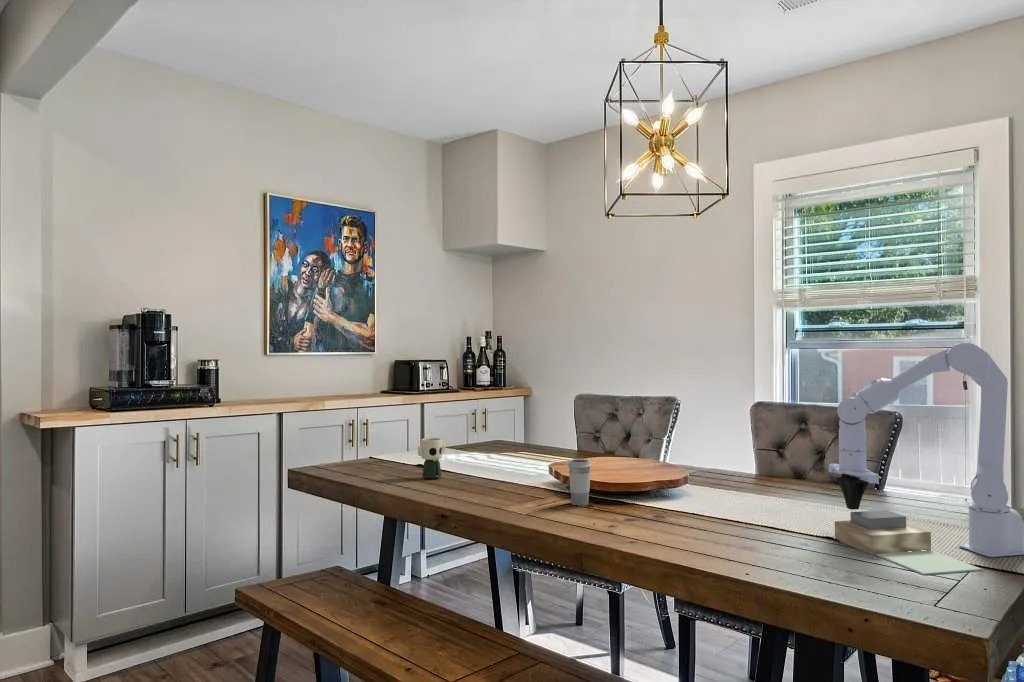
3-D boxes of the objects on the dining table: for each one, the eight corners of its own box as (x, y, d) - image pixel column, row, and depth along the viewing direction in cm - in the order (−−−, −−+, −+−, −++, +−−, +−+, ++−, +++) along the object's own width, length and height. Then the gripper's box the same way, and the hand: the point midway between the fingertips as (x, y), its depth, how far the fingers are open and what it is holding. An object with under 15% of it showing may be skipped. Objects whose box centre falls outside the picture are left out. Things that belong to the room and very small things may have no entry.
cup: (588, 507, 187) (588, 463, 187) (564, 506, 189) (564, 462, 189) (594, 502, 194) (594, 459, 194) (571, 500, 196) (570, 458, 196)
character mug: (424, 482, 224) (424, 441, 224) (412, 479, 229) (411, 439, 229) (451, 477, 231) (451, 438, 231) (438, 474, 237) (438, 436, 237)
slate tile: (886, 520, 155) (886, 510, 155) (906, 527, 149) (906, 516, 149) (850, 522, 154) (850, 512, 154) (869, 529, 148) (869, 518, 148)
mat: (930, 551, 145) (930, 550, 145) (982, 570, 133) (982, 568, 133) (876, 555, 143) (876, 554, 143) (923, 575, 131) (923, 573, 131)
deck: (889, 535, 158) (889, 518, 158) (931, 550, 146) (930, 531, 146) (834, 539, 155) (834, 521, 155) (872, 554, 143) (872, 535, 143)
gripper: (817, 445, 166) (817, 502, 166) (858, 455, 152) (859, 517, 152) (843, 444, 167) (843, 501, 167) (887, 454, 153) (887, 515, 153)
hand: (852, 508), depth 159 cm, fingers closed
